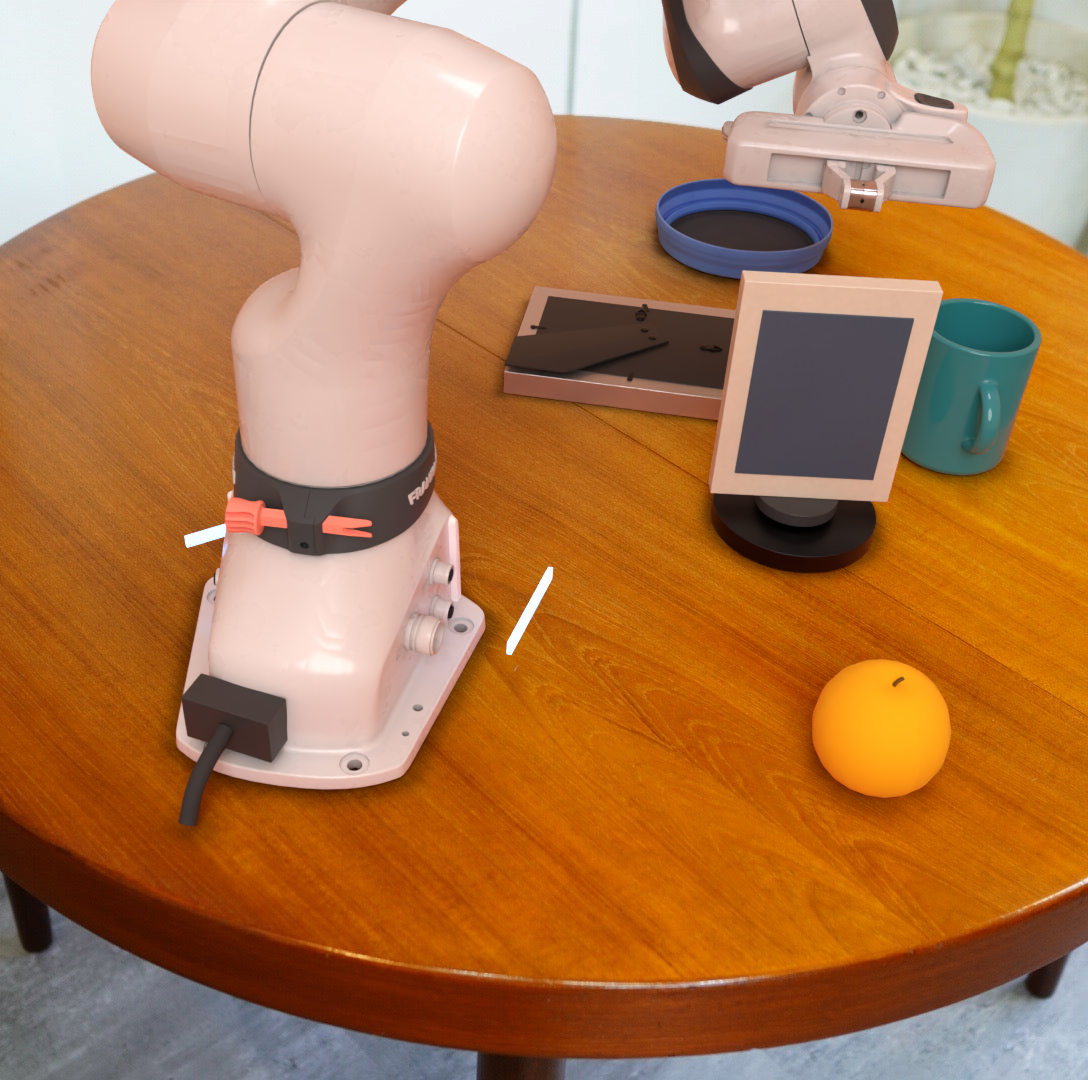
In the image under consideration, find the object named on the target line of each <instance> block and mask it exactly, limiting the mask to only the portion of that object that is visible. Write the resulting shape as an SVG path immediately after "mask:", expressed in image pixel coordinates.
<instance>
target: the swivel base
mask: <svg viewBox="0 0 1088 1080" xmlns="http://www.w3.org/2000/svg"><path fill="white" fill-rule="evenodd" d="M711 502H712V503H711V507H710V508H711V509H710V519H711V522H712V526H713V528H714V530H715V532H716V533H717V535H718V536H719V537H720V539H721V540H722V541H723V542H724V543H725V544H726V545H727V546H728V547H729V548H730V549H732V550H733V551H735V552H736V553H738V554H739V555H741V556H743V557H744V558H746V559H748V560H750V561H752V562H755V563H757V564H760V565H762V566H766V567H768V568H772V569H776V570H778V571H779V570H780V571H784V572H791V573H801V574H802V573H803V574H817V573H818V574H819V573H826V572H832V571H837V570H840V569H842V568H847V566H850V565H852V564H854V563H855V562H857V561H858V560H860V559H861V558H862V557H863V556H865V554H866V553H867V552H868V551H869V549H870V546H871V544H872V541H873V537H874V534H875V530H876V525H877V513H876V509H875V507H874V505H873V503H872V502H873V501H856V500H838V504H837V509H836V512H835V514H834V516H833V517H832V518H831V519H830V520H829V521H827V522H826V523H823V524H821V525H817V526H812V527H796V526H790V525H786V524H783V523H780V522H777V521H775V520H773V519H771V518H769V517H768V516H766V515H765V514H764V513H763V512H762V511H761V510H760V509H759V508H758V506H757V504H756V502H755V495H739V494H719V493H713V496H712V501H711Z"/></svg>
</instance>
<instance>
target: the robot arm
mask: <svg viewBox="0 0 1088 1080" xmlns="http://www.w3.org/2000/svg"><path fill="white" fill-rule="evenodd" d="M406 2H408V0H115V1H114V2H113V4H112V5H111V6H110V7H109V9H108V11H107V12H106V14H105V16H104V18H103V20H102V21H101V22H100V23H101V24H100V25H99V28H98V31H97V33H96V36H95V39H94V43H93V48H92V53H91V60H90V85H91V86H90V87H91V92H92V99H93V103H94V107H95V111H96V113H97V116H98V119H99V122H100V124H101V126H102V127H103V129H104V131H105V133H106V134H107V135H108V137H109V139H110V140H111V141H112V142H113V143H114V144H115V145H116V146H117V147H118V148H119V149H120V150H122V151H123V152H124V153H126V154H127V155H129V156H130V157H132V158H133V159H135V160H137V161H138V162H139V163H141V164H143V165H144V166H146V167H148V168H149V169H151V170H153V171H154V172H156V173H158V174H159V175H162V176H163V177H165V178H167V179H168V180H170V181H172V182H174V183H175V184H177V185H179V186H181V187H183V188H185V189H187V190H188V191H191V192H194V193H198V194H200V195H203V196H208V197H210V198H213V199H217V200H221V201H224V202H227V203H230V204H234V205H237V206H241V207H244V208H247V209H250V210H253V211H257V212H259V213H264V214H267V215H269V216H274V217H277V218H280V219H282V220H283V221H284V222H287V223H289V224H291V226H292V227H293V229H294V231H295V233H296V236H297V239H298V242H299V250H300V259H299V265H297V266H295V267H293V268H290V269H287V270H285V271H282V272H280V273H277V274H276V275H274V276H272V277H270V278H268V279H266V280H265V281H264V282H262V283H261V284H260V285H259V286H257V287H256V288H255V289H254V290H253V291H252V292H251V294H249V296H247V298H246V300H245V301H244V303H243V304H242V306H241V307H240V309H239V311H238V313H237V315H236V318H235V319H234V322H233V325H232V328H231V332H230V333H231V334H230V348H231V356H232V368H233V377H234V387H235V396H236V405H237V416H238V424H239V425H238V428H237V431H236V433H235V438H234V450H233V455H232V469H231V475H232V476H231V479H232V485H233V489H231V490H230V491H228V492H227V494H226V496H227V504H226V507H225V513H224V523H223V524H220V525H216V526H212V527H209V528H206V529H203V530H199V531H195V532H193V533H190V534H186V535H184V543H185V546H186V548H190V547H195V546H198V545H201V544H205V543H207V542H211V541H215V540H219V539H221V538H224V539H223V544H222V550H221V557H220V564H219V567H217V568H216V569H215V572H214V573H213V576H212V577H210V578H209V579H208V580H207V581H206V582H205V584H204V587H203V591H202V596H201V602H200V607H199V611H198V617H197V621H196V627H195V631H194V637H193V642H192V647H191V652H190V657H189V660H188V661H189V662H188V667H187V672H186V677H185V682H184V687H183V691H182V695H181V697H180V707H179V712H178V717H177V724H176V728H175V746H176V748H177V749H178V751H179V752H181V753H182V754H184V755H185V756H186V757H187V758H188V759H190V760H191V761H193V762H195V765H194V767H193V769H192V770H191V774H190V776H189V778H188V780H187V783H186V786H185V788H184V789H185V790H184V793H183V796H182V801H181V805H180V811H179V818H178V824H181V825H182V826H186V827H195V826H197V825H198V819H199V814H200V809H201V803H202V799H203V795H204V792H205V789H206V787H207V784H208V781H209V779H210V776H211V774H212V772H213V771H214V772H217V773H219V774H222V775H226V776H229V777H232V778H235V779H240V780H244V781H249V782H252V783H260V784H265V785H271V786H277V787H286V788H296V789H305V790H306V789H307V790H348V789H358V788H359V789H360V788H366V787H372V786H376V785H381V784H384V783H388V782H391V781H393V780H397V779H399V778H401V777H402V776H404V775H405V774H406V773H407V771H408V770H409V769H410V767H411V765H412V763H413V762H414V760H415V758H416V757H417V754H418V752H419V751H420V749H421V747H422V746H423V743H424V742H425V740H426V738H427V737H428V735H429V733H430V731H431V729H432V727H433V725H434V724H435V722H436V720H437V719H438V716H439V715H440V713H441V711H442V709H443V708H444V706H445V703H446V702H447V700H448V698H449V696H450V694H451V692H452V691H453V689H454V687H455V685H456V684H457V682H458V680H459V678H460V676H461V674H462V673H463V672H464V669H465V667H466V665H467V663H468V662H469V660H470V658H471V656H472V654H473V652H474V651H475V649H476V647H477V645H478V644H479V643H480V640H481V638H482V636H483V634H484V633H485V630H486V627H487V626H486V625H487V624H486V616H485V612H484V610H483V609H482V608H481V607H480V606H479V605H478V604H477V603H475V602H474V601H472V600H471V599H469V598H468V597H467V596H464V595H463V594H462V582H461V581H462V580H461V578H462V577H461V554H460V552H461V551H460V529H459V520H458V519H457V517H455V515H454V514H453V512H452V511H451V510H450V509H449V508H448V506H447V505H445V503H444V502H443V501H442V499H441V498H440V496H439V495H438V493H437V492H436V489H435V486H436V470H437V464H438V457H437V456H438V455H437V447H436V442H435V432H434V429H433V426H432V424H431V422H430V420H429V419H428V415H429V414H428V412H429V410H428V409H429V408H428V405H429V404H428V403H429V379H430V377H429V376H430V363H431V349H432V348H431V347H432V339H433V332H434V327H435V324H436V321H437V318H438V315H439V313H440V310H441V307H442V305H443V303H444V301H445V300H446V298H447V296H448V294H449V293H450V291H451V290H452V289H453V288H454V286H455V285H456V284H457V283H458V282H459V280H461V279H462V278H463V277H464V276H465V275H466V274H468V273H469V272H470V271H472V270H474V269H475V268H477V267H479V266H480V265H482V264H484V263H487V262H489V261H491V260H493V259H495V258H497V257H498V256H500V255H502V253H504V252H506V251H507V250H509V248H511V247H513V245H514V244H516V243H517V242H518V241H519V240H520V239H521V238H522V237H523V236H524V235H525V234H526V232H527V231H528V230H530V228H531V227H532V226H533V224H534V222H535V221H536V219H537V218H538V216H539V215H540V213H541V211H542V209H543V207H544V206H545V203H546V201H547V199H548V197H549V194H550V192H551V190H552V186H553V182H554V178H555V174H556V169H557V168H556V167H557V158H558V135H557V128H556V123H555V118H554V117H555V116H554V113H553V109H552V106H551V104H550V101H549V97H548V96H547V93H546V91H545V89H544V87H543V85H542V83H541V81H540V79H539V77H538V76H537V75H536V74H535V73H534V71H532V70H531V69H530V68H529V67H527V66H525V65H524V64H522V63H520V62H518V61H516V60H514V59H512V58H510V57H509V56H506V55H505V54H503V53H501V52H500V51H497V50H495V49H493V48H492V47H489V46H487V45H486V44H483V43H481V42H479V41H476V40H475V39H473V38H470V37H468V36H466V35H464V34H462V33H460V32H457V31H456V30H454V29H451V28H448V27H444V26H439V25H436V24H435V25H434V24H431V23H426V22H422V21H418V20H413V19H408V18H404V17H400V16H395V15H393V14H394V13H395V12H396V11H397V10H398V9H399V8H400V7H401V6H402V5H404V4H405V3H406ZM660 2H661V7H662V40H663V47H664V52H665V56H666V60H667V63H668V65H669V69H670V71H671V73H672V75H673V77H674V79H675V81H676V82H677V83H678V85H679V86H680V88H681V90H682V92H684V93H687V94H688V95H690V96H692V97H694V98H696V99H699V100H701V101H704V102H707V103H710V104H714V105H721V104H723V103H726V102H728V101H730V100H731V99H735V98H736V97H738V96H740V95H742V94H744V93H747V92H749V91H751V90H753V89H754V87H757V86H761V85H762V84H765V83H769V82H771V81H773V80H776V79H779V78H782V77H784V76H786V75H790V74H792V73H794V72H795V74H794V77H793V78H794V79H793V86H792V87H793V88H792V112H793V114H792V113H784V112H783V113H782V112H773V111H763V110H762V111H759V110H751V111H745V112H742V113H740V114H738V116H737V117H735V118H734V120H733V121H732V120H727V121H725V122H724V123H723V125H722V127H721V134H720V135H721V139H722V141H723V142H724V143H725V144H726V148H725V154H724V161H723V168H722V178H725V179H726V180H727V181H729V182H731V183H733V184H735V185H741V186H752V187H762V188H772V189H782V190H792V191H797V192H801V193H811V194H812V193H813V194H822V195H826V196H828V197H830V198H831V199H833V200H835V201H837V202H838V206H839V209H840V210H850V211H851V210H852V211H859V212H860V211H861V212H867V213H868V212H869V213H878V214H879V213H881V210H882V205H883V204H884V203H886V202H888V201H891V202H899V203H910V204H920V205H931V206H938V207H939V206H940V207H948V208H949V207H950V208H961V209H966V210H967V209H968V210H974V209H979V208H981V207H982V206H984V205H985V204H986V203H987V200H988V198H989V196H990V192H991V189H992V185H993V181H994V176H995V173H996V167H997V166H996V158H995V155H994V153H993V151H992V149H991V147H990V144H989V143H988V141H987V140H986V138H985V137H984V135H983V134H982V132H981V131H980V130H979V129H978V128H976V127H975V126H974V125H972V124H971V123H969V122H968V116H969V109H968V107H967V106H966V105H964V104H963V103H961V102H957V101H953V100H950V99H945V98H941V97H938V96H933V95H930V94H926V93H921V92H919V91H915V90H913V89H910V88H908V87H906V86H904V85H902V84H900V83H898V81H897V78H896V75H895V72H894V70H893V67H892V65H891V63H890V61H889V60H890V59H891V57H892V55H893V53H894V51H895V48H896V45H897V42H898V38H899V35H900V31H899V22H898V18H897V12H896V9H895V5H894V1H893V0H661V1H660ZM553 571H554V567H552V566H548V567H547V569H546V570H545V572H544V574H543V575H542V578H541V579H540V581H539V584H538V585H537V587H536V589H535V591H534V592H533V594H532V596H531V598H530V600H529V602H528V604H527V605H526V607H525V609H524V610H523V612H522V614H521V616H520V618H519V619H518V622H517V624H516V625H515V627H514V629H513V631H512V633H511V635H510V637H509V638H508V640H507V642H506V655H510V656H512V654H513V652H514V651H515V649H516V647H517V645H518V643H519V641H520V640H521V638H522V636H523V634H524V632H525V631H526V628H527V626H528V624H529V623H530V621H531V619H532V618H533V615H534V613H535V611H536V610H537V609H538V606H539V605H540V603H541V600H542V599H543V596H544V595H545V593H546V591H547V589H548V587H549V585H550V584H551V582H552V580H553V574H554V573H553ZM354 769H357V770H354Z"/></svg>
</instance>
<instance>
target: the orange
mask: <svg viewBox="0 0 1088 1080" xmlns="http://www.w3.org/2000/svg"><path fill="white" fill-rule="evenodd" d="M811 726H812V727H811V728H812V729H811V731H812V737H811V738H812V745H813V748H814V750H815V753H816V754H817V755H816V756H817V757H818V759H819V762H820V763H821V765H822V767H823V768H824V769H825V770H826V771H827V772H828V774H829V775H830V776H831V777H832V778H833V779H834V780H835V781H837V782H838V783H839V784H841V785H843V786H844V787H846V788H848V789H849V790H851V791H854V792H857V793H859V794H862V795H864V796H867V797H873V798H874V797H875V798H882V799H887V798H888V799H889V798H898V797H899V798H900V797H903V796H906V795H908V794H910V793H913V792H915V791H917V790H919V789H922V788H923V787H924V786H926V785H927V784H928V783H930V781H931V780H932V779H933V778H934V777H935V776H936V775H937V774H938V772H940V770H941V768H942V767H943V765H944V762H945V761H946V757H947V755H948V751H949V748H950V743H951V740H952V727H951V720H950V713H949V707H948V704H947V702H946V700H945V698H944V697H943V695H942V693H941V692H940V690H939V688H938V686H937V685H936V684H935V683H934V682H933V681H932V680H931V679H930V678H929V677H928V676H927V675H926V674H925V673H924V672H922V671H920V670H918V669H916V668H915V667H913V666H912V665H909V664H907V663H903V662H901V661H897V660H891V659H886V658H885V659H883V658H877V659H865V660H862V661H859V662H856V663H854V664H850V665H848V666H846V667H844V668H842V669H841V670H840V671H839V672H838V673H836V674H835V675H834V676H833V677H832V678H831V679H830V680H829V681H828V682H827V683H826V684H825V685H824V687H823V688H822V689H821V692H820V694H819V697H818V699H817V702H816V704H815V706H814V709H813V712H812V717H811Z"/></svg>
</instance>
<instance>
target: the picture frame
mask: <svg viewBox="0 0 1088 1080" xmlns="http://www.w3.org/2000/svg"><path fill="white" fill-rule="evenodd" d="M735 312H736V309H729V308H721V307H713V306H706V305H705V306H704V305H696V304H688V303H680V302H672V301H665V300H655V299H649V298H640V297H639V298H638V297H631V296H623V295H614V294H606V293H598V292H589V291H580V290H575V289H574V290H573V289H565V288H558V287H549V286H548V287H547V286H541V285H535V286H534V288H533V290H532V292H531V296H530V299H529V302H528V305H527V307H526V310H525V313H524V316H523V318H522V321H521V324H520V327H519V330H518V333H517V335H516V336H514V338H513V341H512V343H511V346H510V348H509V351H508V354H507V356H506V359H505V362H504V367H505V369H504V371H503V394H508V395H516V396H523V397H524V396H525V397H531V398H540V399H547V400H555V401H563V402H571V403H578V404H584V405H585V404H587V405H594V406H601V407H608V408H617V409H625V410H633V411H640V412H646V413H647V412H648V413H655V414H656V413H657V414H663V415H670V416H671V415H672V416H679V417H686V418H693V419H702V420H710V421H716V422H718V418H719V412H720V406H721V399H722V393H723V387H724V381H725V374H726V368H727V362H728V356H729V350H730V343H731V337H732V331H733V325H734V318H735Z"/></svg>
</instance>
